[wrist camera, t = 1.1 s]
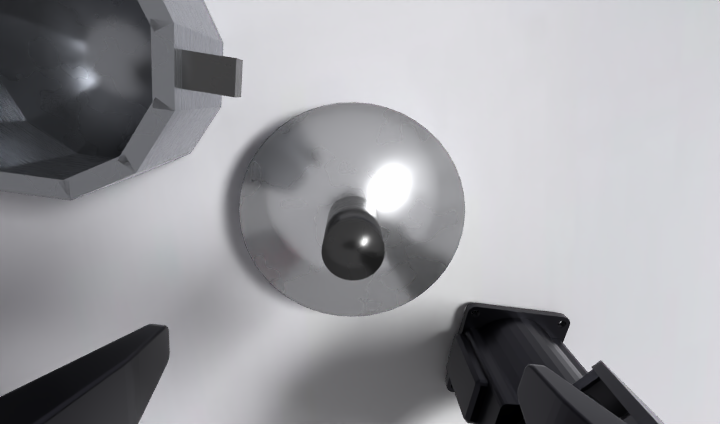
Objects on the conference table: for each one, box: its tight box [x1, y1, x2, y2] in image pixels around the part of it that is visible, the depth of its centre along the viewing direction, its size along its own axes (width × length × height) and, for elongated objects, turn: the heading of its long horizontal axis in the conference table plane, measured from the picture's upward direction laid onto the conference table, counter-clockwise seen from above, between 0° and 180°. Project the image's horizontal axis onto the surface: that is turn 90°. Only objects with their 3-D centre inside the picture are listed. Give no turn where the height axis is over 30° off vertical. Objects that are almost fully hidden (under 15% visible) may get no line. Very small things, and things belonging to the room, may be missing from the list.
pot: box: [0, 0, 243, 200], centre depth 15 cm, size 15×11×5 cm
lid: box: [239, 102, 465, 316], centre depth 17 cm, size 12×12×6 cm
